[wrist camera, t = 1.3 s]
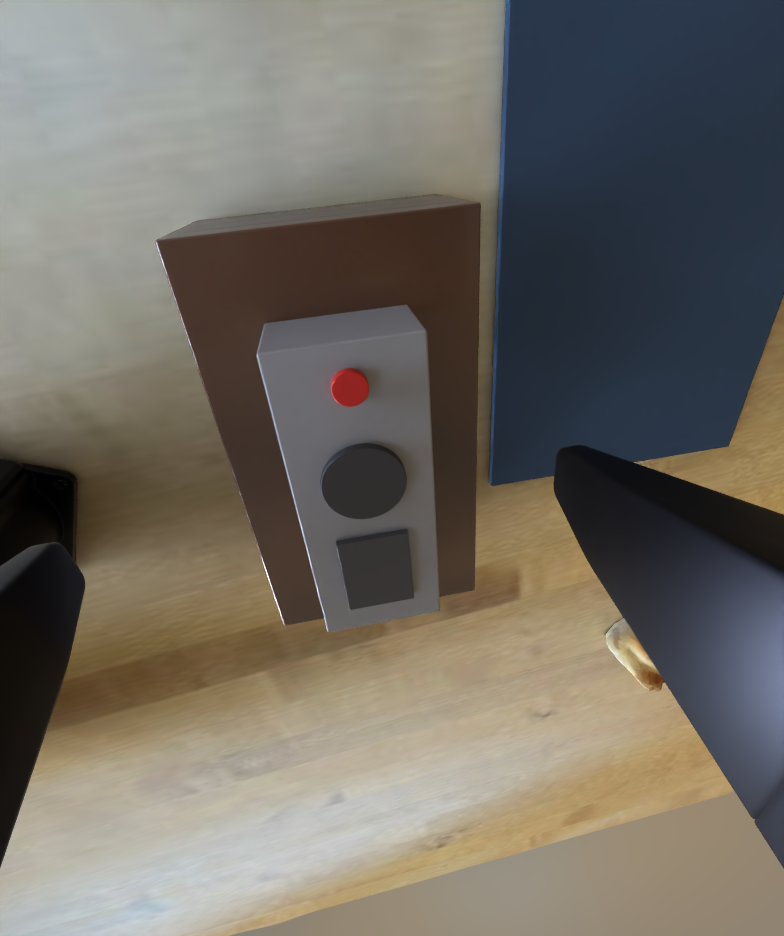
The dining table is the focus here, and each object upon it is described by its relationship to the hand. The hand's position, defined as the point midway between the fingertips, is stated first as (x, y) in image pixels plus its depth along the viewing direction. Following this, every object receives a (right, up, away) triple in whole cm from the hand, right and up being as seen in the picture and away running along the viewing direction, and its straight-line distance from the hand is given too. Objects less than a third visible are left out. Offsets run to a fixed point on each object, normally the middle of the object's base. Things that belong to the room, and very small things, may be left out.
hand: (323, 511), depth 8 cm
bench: (-1, +4, +13) cm, 14 cm away
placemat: (+13, +9, +12) cm, 20 cm away
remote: (0, +1, +9) cm, 9 cm away
